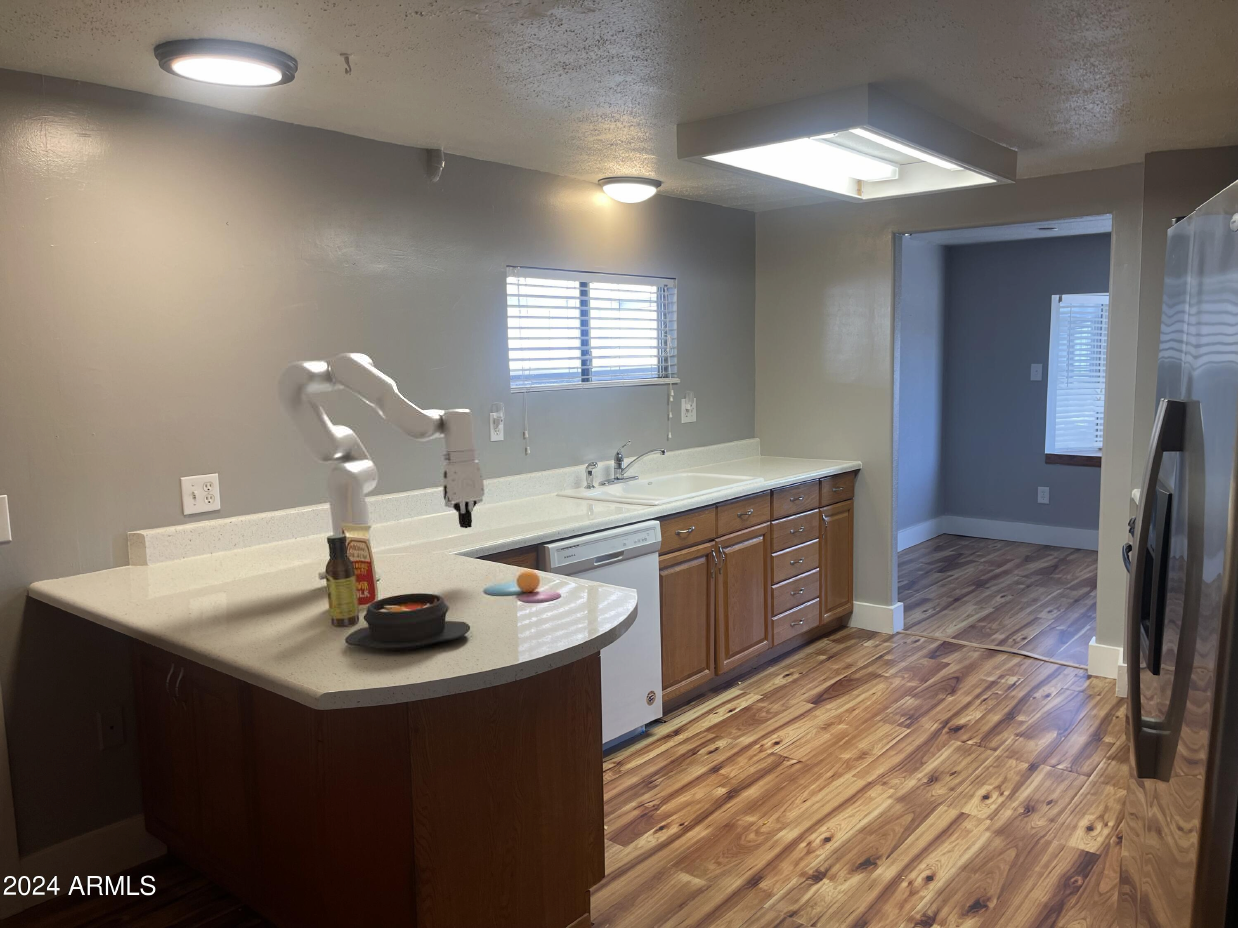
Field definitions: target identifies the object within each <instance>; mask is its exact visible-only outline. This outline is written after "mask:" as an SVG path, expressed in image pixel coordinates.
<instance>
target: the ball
mask: <svg viewBox="0 0 1238 928" xmlns="http://www.w3.org/2000/svg"><path fill="white" fill-rule="evenodd" d="M540 580H541V579H540V576H539V574H538V573H537V572H536V571H535V570H533V569H525V570H522V571H521V572H520V573H519V574H518V576H517V577H516V582H517V585H518V587H519V589H520V590H521V591H523V592H527V593H529V592H535V591H536V590H537V589H538V588H539V586H540V582H541V581H540Z"/></svg>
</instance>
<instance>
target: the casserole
mask: <svg viewBox="0 0 1238 928" xmlns="http://www.w3.org/2000/svg"><path fill="white" fill-rule="evenodd" d="M449 610H450V608H449V605H447V604H446V602H445V600H444V598H443V596H441V595H438V594H436V593H425V592H424V593H421V592H419V593H416V592H415V593H414V592H413V593H404V594H397V595H392V596H388V597H384V598H380V599H378V600H377V601H375V602H373V603H371V604H370V605H369V606H368V607H367V609H366V613H365V614H364V615H363V616H362V617H363V621H365V622H366V623H367V627H361V628H358V629H356V630H355V631H353V632H351V633H349V634H348V635H347V636H346V637H345V639H344V642H345V644H347V645H348V646H352V647H353V646H354V647H371V648H376V649H377V648H378V649H382V650H383V649H384V650H390V651H406V649H409V650H415V649H414V648H416V649H421V648H424V647H426V646H429V645H433V644H434V643H439V642H446V641H451V640H456V639H459V638H461V637H463V636H464V635H466V634H468V633H469V632H470V629H471V626H470V624H469V623H467V622H465V621H457V620H456V621H455V620H452V621H451V620H446V617H447V612H448V611H449ZM423 646H424V647H423Z"/></svg>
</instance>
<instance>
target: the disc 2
mask: <svg viewBox="0 0 1238 928" xmlns="http://www.w3.org/2000/svg"><path fill="white" fill-rule="evenodd" d="M561 597H562V593H560V592H559V591H553V590H537V591H536V590H535V591H533V592H529V593H523V594H520V596H518V600H519V601H521V602H522V603H531V604H532V603H535V604H536V603H547V602H553V601H555V600H558V599H559V598H561Z"/></svg>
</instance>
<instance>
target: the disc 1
mask: <svg viewBox="0 0 1238 928" xmlns="http://www.w3.org/2000/svg"><path fill="white" fill-rule="evenodd" d="M483 593H484V594H486V595H488V594H490V595H489V596H494V595H495V597H501V596H502V597H504V596H505V597H506V596H507V597H508V596H517V595H523V594H525V593H527V592H523V591H521V590H520V589H519V587H518V585H517V581H508V582H500V583H499V582H498V583H496V584H492V585H489V586H487V587H485V588H483ZM496 595H497V596H496Z"/></svg>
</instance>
